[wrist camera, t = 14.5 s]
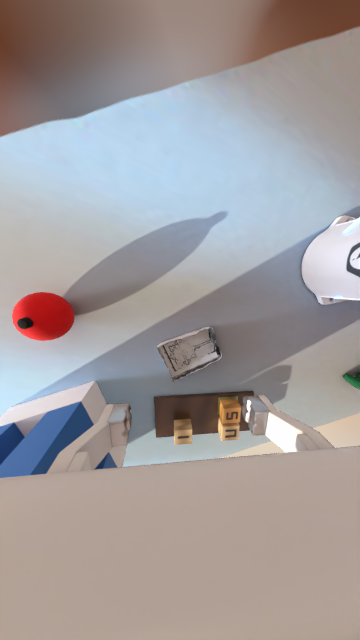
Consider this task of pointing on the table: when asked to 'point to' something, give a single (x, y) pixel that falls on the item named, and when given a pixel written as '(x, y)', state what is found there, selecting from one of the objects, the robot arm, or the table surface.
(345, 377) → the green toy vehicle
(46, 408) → the toy block
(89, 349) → the table surface
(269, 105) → the table surface
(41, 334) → the ornament
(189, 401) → the letter board
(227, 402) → the letter s tile
